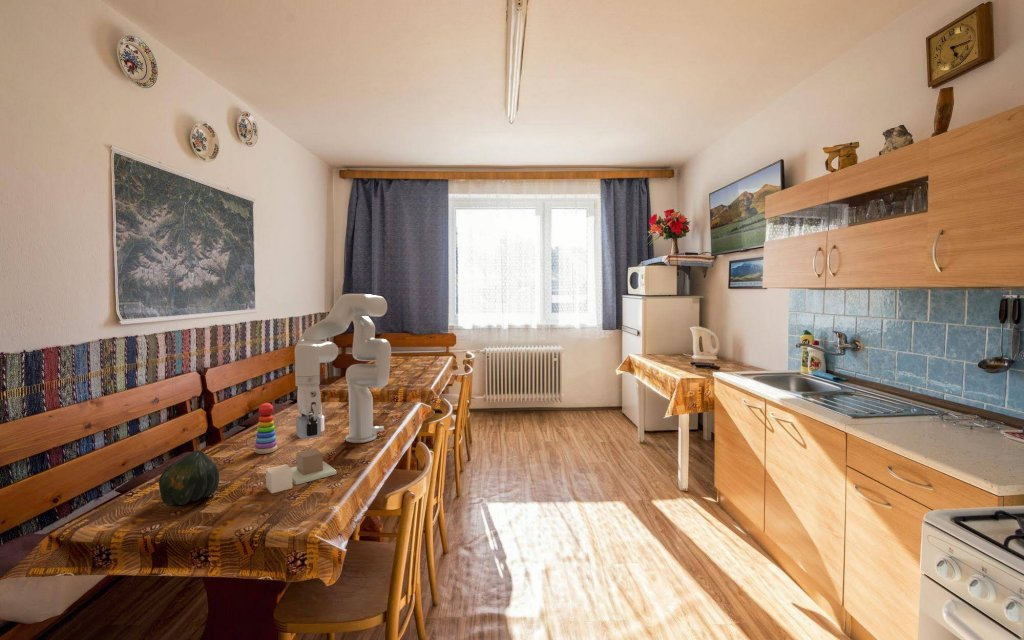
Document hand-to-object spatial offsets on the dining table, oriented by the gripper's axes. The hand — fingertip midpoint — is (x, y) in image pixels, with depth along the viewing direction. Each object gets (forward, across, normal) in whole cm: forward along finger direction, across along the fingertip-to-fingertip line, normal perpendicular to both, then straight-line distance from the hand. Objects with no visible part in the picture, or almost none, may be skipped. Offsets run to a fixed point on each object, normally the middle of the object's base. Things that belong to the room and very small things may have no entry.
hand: (308, 432), depth 153 cm
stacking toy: (+14, +34, +5) cm, 37 cm away
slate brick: (+1, 0, 0) cm, 1 cm away
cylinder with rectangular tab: (+14, +49, -18) cm, 54 cm away
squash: (+15, +4, +33) cm, 36 cm away
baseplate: (+14, 0, 0) cm, 14 cm away
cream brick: (+14, -5, +11) cm, 19 cm away
